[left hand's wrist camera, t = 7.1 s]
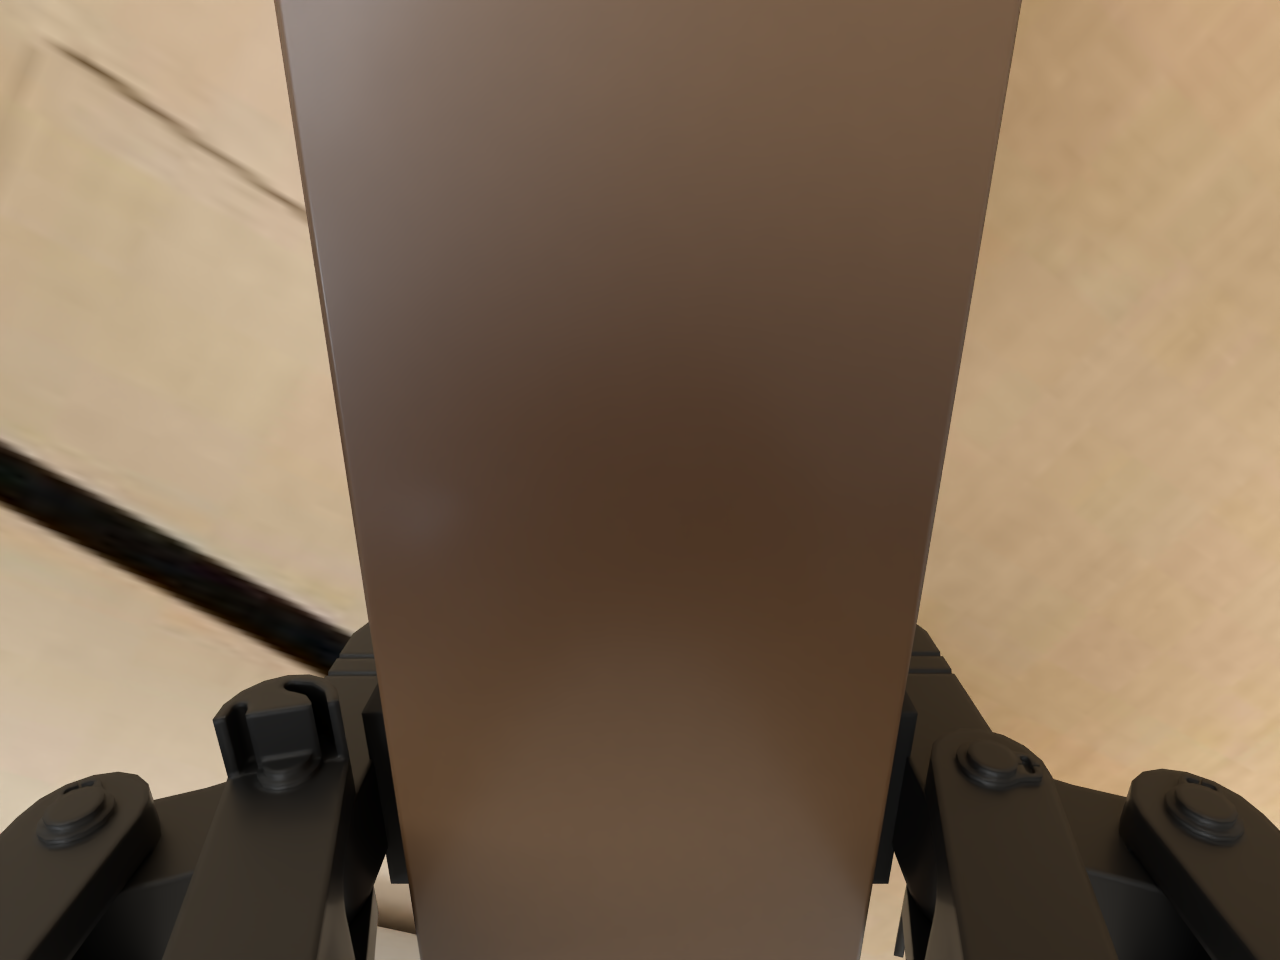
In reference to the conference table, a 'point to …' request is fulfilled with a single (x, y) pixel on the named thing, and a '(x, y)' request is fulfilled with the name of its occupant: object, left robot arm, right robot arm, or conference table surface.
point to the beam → (644, 438)
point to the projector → (396, 945)
